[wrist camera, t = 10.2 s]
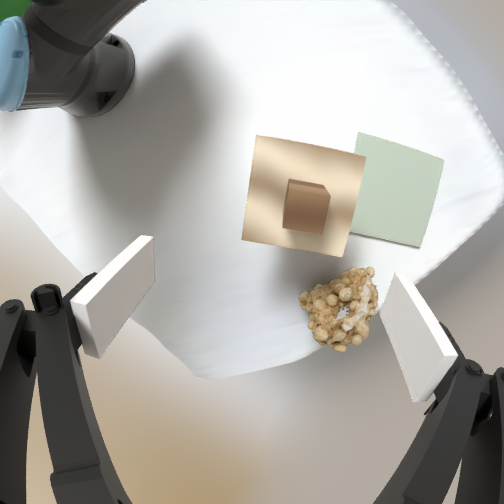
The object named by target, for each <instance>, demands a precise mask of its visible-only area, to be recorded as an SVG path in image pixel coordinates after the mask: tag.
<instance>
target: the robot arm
mask: <svg viewBox="0 0 504 504" xmlns="http://www.w3.org/2000/svg"><path fill="white" fill-rule="evenodd" d="M29 1H32V3H31V4H30V6H29V7H28V8H27V9H26V11H25V12H24V13H23V14H22V16H21V17H19V16H13V17H9V18H6V19H5V20H4V21H3V22H1V23H0V111H10V112H12V111H17V110H26V109H37V108H51V107H59V108H61V109H63V110H65V111H67V112H69V113H71V114H73V115H75V116H79V117H95V116H99V115H102V114H104V113H106V112H108V111H109V110H111V109H112V108H113V107H114V106H115V105H116V104H117V103H118V102H119V101H120V100H121V99H122V98H123V96H124V95H125V93H126V91H127V90H128V88H129V86H130V83H131V80H132V77H133V73H134V55H133V51H132V49H131V47H130V45H129V44H128V43H127V42H126V41H125V40H124V39H123V38H121V37H119V36H116V35H114V34H111V33H108V32H109V31H110V30H111V29H112V28H114V27H115V26H116V25H117V24H118V23H119V22H120V21H121V20H122V19H123V18H124V17H126V16H127V15H128V14H129V13H130V12H131V11H133V10H134V9H135V8H136V7H137V6H139V5H140V4H141V3H144V2H146V1H147V0H29ZM154 282H155V266H154V237H152V236H145V235H140V236H139V237H138V238H137V239H136V240H135V241H134V242H132V243H131V244H130V245H129V246H128V247H127V248H126V249H124V250H123V251H122V252H121V253H120V254H119V255H118V256H117V257H115V258H114V259H113V260H112V261H111V262H110V263H109V264H108V265H107V266H106V267H105V268H103V269H102V270H101V271H100V272H99V273H95V272H94V273H92V274H90V275H88V276H86V277H85V278H84V279H82V280H81V281H80V282H79V284H77V285H76V286H75V287H74V288H73V289H72V290H71V291H70V292H69V293H67V294H66V295H65V296H64V297H63V298H62V296H61V291H60V288H59V287H58V286H57V285H54V284H44V285H41V286H39V287H37V288H35V289H34V290H33V292H32V293H31V299H32V302H33V305H34V309H35V311H31V310H25V308H24V305H23V302H22V301H20V300H16V299H13V300H9V301H6V302H5V303H3V304H2V305H1V306H0V504H26V453H27V439H28V428H29V419H30V411H31V403H32V397H33V390H34V385H35V379H36V374H37V373H38V385H39V394H40V402H41V409H42V416H43V422H44V428H45V433H46V438H47V443H48V448H49V452H50V456H51V460H52V464H53V469H54V472H53V473H52V474H51V475H50V481H51V486H52V489H53V493H54V496H55V499H56V502H57V504H132V502H131V501H130V499H129V498H128V496H127V494H126V492H125V491H124V488H123V486H122V484H121V482H120V480H119V478H118V475H117V473H116V471H115V469H114V466H113V464H112V461H111V459H110V456H109V454H108V451H107V449H106V446H105V443H104V440H103V438H102V435H101V432H100V429H99V426H98V423H97V420H96V417H95V414H94V411H93V407H92V404H91V400H90V397H89V393H88V390H87V386H86V382H85V379H84V374H83V370H82V365H81V361H80V356H79V353H78V348H79V347H80V346H81V344H82V345H83V348H84V351H85V354H87V355H90V356H93V357H95V358H98V359H100V358H101V357H102V355H103V354H104V352H105V350H106V349H107V348H108V346H109V345H110V343H111V342H112V340H113V339H114V337H115V336H116V334H117V333H118V332H119V330H120V329H121V327H122V326H123V324H124V323H125V322H126V320H127V319H128V318H129V316H130V315H131V313H132V312H133V311H134V309H135V308H136V306H137V305H138V304H139V302H140V301H141V300H142V298H143V297H144V296H145V294H146V293H147V291H148V290H149V289H150V287H151V286H152V285H153V283H154ZM380 316H381V319H382V321H383V323H384V326H385V328H386V331H387V333H388V336H389V338H390V341H391V343H392V346H393V348H394V351H395V353H396V356H397V359H398V361H399V364H400V367H401V369H402V372H403V375H404V378H405V381H406V383H407V386H408V388H409V392H410V395H411V398H412V401H413V402H423V401H427V400H428V399H429V398H430V396H431V395H432V394H433V392H434V394H435V396H436V399H435V401H434V402H433V403H432V405H431V406H430V407H429V408H428V409H427V411H426V412H425V413H424V415H426V414H427V415H426V418H425V420H424V422H423V424H422V426H421V428H420V430H419V432H418V433H417V435H416V437H415V439H414V441H413V443H412V444H411V446H410V448H409V450H408V451H407V453H406V455H405V456H404V458H403V460H402V461H401V463H400V465H399V467H398V468H397V470H396V471H395V473H394V474H393V476H392V477H391V479H390V480H389V482H388V483H387V485H386V486H385V488H384V489H383V490H382V492H381V493H380V495H379V496H378V497H377V499H376V500H375V501H374V503H373V504H442V503H443V500H444V498H445V496H446V494H447V492H448V490H449V488H450V485H451V483H452V481H453V478H454V476H455V474H456V471H457V469H458V466H459V463H460V461H461V458H462V463H461V470H460V477H459V483H458V489H457V494H456V499H455V504H504V368H502V367H500V368H498V369H497V370H496V372H495V373H494V375H488V374H484V371H483V369H482V368H481V366H480V365H479V364H478V363H476V362H475V361H472V360H469V359H465V357H464V355H463V353H462V352H461V350H460V348H459V346H458V345H457V343H456V342H455V340H454V338H453V337H452V336H451V333H450V332H449V330H448V329H447V328H446V327H445V326H444V325H443V324H442V323H441V322H438V321H437V319H436V318H435V316H434V314H433V313H432V311H431V310H430V308H429V307H428V305H427V304H426V302H425V301H424V299H423V298H422V296H421V295H420V293H419V292H418V290H417V289H416V287H415V286H414V284H413V283H412V282H411V280H410V279H409V277H408V276H407V274H401V273H394V276H393V279H392V282H391V285H390V287H389V290H388V293H387V296H386V298H385V301H384V303H383V306H382V308H381V311H380ZM491 414H492V416H491V418H490V415H491Z"/></svg>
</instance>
